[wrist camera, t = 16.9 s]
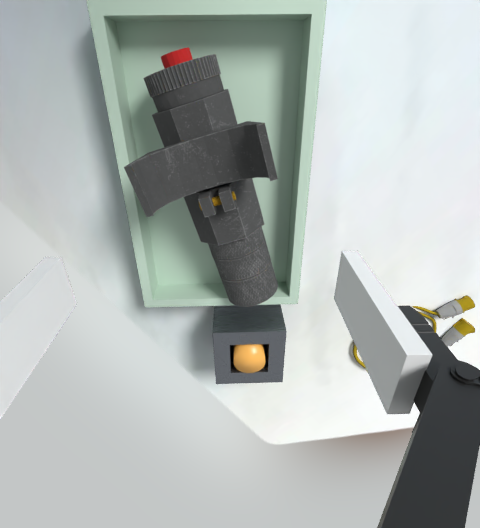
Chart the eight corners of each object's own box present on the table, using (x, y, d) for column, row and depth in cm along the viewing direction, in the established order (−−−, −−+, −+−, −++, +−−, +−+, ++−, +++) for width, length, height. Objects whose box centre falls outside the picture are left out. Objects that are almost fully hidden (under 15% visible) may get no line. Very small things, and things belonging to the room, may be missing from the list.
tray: (103, 7, 26) (85, -3, 23) (315, 6, 27) (327, -4, 23) (152, 288, 40) (144, 307, 36) (292, 285, 40) (297, 303, 37)
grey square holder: (214, 300, 41) (212, 333, 36) (279, 298, 41) (286, 331, 36) (217, 348, 45) (216, 383, 39) (276, 346, 45) (282, 381, 40)
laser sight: (211, 285, 39) (205, 345, 30) (126, 73, 28) (79, 71, 19) (292, 264, 38) (310, 320, 29) (236, 35, 27) (239, 14, 18)
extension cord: (458, 359, 48) (467, 369, 46) (349, 372, 48) (354, 383, 47) (477, 290, 42) (487, 300, 40) (352, 306, 42) (357, 316, 41)
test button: (233, 321, 41) (233, 350, 36) (262, 320, 41) (266, 349, 36) (233, 343, 42) (234, 373, 38) (261, 342, 42) (265, 372, 38)
